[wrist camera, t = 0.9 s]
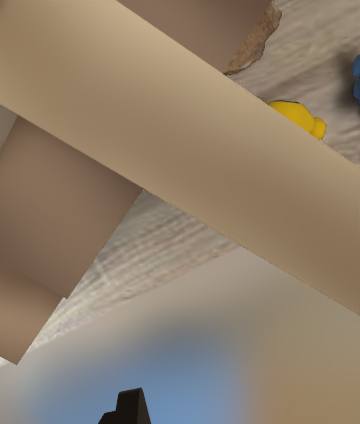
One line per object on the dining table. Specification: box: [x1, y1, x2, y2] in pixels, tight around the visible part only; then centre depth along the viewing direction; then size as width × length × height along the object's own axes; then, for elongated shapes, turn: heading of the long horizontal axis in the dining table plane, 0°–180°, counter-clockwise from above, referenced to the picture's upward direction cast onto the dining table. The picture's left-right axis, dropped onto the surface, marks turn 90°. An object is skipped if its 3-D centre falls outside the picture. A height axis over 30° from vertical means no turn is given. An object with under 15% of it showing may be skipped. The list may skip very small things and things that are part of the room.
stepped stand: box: [0, 0, 272, 365], centre depth 25 cm, size 24×11×32 cm, turn 145°
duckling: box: [267, 99, 326, 140], centre depth 37 cm, size 11×5×10 cm, turn 82°
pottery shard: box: [222, 0, 282, 75], centre depth 39 cm, size 8×16×2 cm, turn 110°
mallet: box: [0, 0, 360, 315], centre depth 8 cm, size 7×20×4 cm, turn 59°
